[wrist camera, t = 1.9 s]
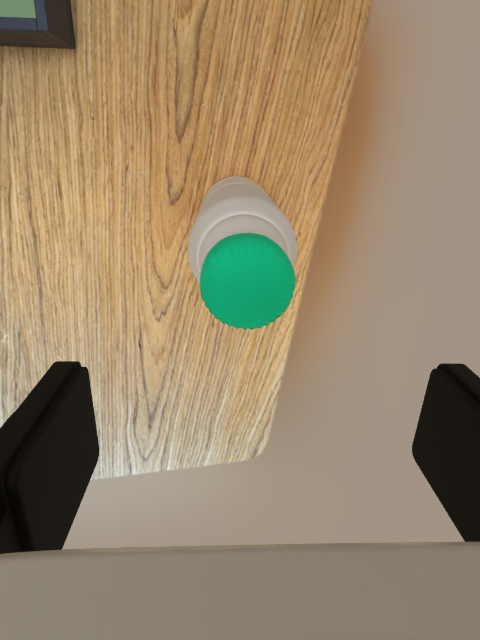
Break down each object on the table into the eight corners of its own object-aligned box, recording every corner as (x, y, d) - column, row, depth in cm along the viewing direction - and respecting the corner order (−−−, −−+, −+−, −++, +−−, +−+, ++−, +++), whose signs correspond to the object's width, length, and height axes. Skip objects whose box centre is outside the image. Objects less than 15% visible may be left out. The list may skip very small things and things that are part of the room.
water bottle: (192, 228, 42) (153, 326, 19) (217, 163, 40) (206, 187, 17) (252, 254, 44) (282, 374, 21) (280, 192, 41) (350, 252, 18)
